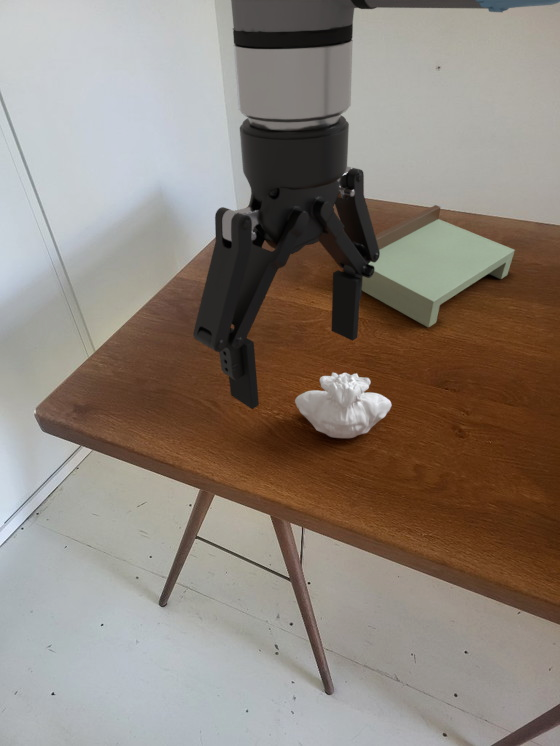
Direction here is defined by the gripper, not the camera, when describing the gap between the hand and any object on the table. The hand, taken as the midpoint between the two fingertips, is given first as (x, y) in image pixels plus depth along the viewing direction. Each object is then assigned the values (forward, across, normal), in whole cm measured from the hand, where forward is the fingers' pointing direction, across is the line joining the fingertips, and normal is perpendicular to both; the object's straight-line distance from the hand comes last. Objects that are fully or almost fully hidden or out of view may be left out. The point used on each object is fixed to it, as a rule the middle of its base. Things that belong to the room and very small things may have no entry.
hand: (298, 365), depth 48 cm
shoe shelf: (+15, -48, -13) cm, 52 cm away
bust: (+18, -11, -3) cm, 21 cm away
